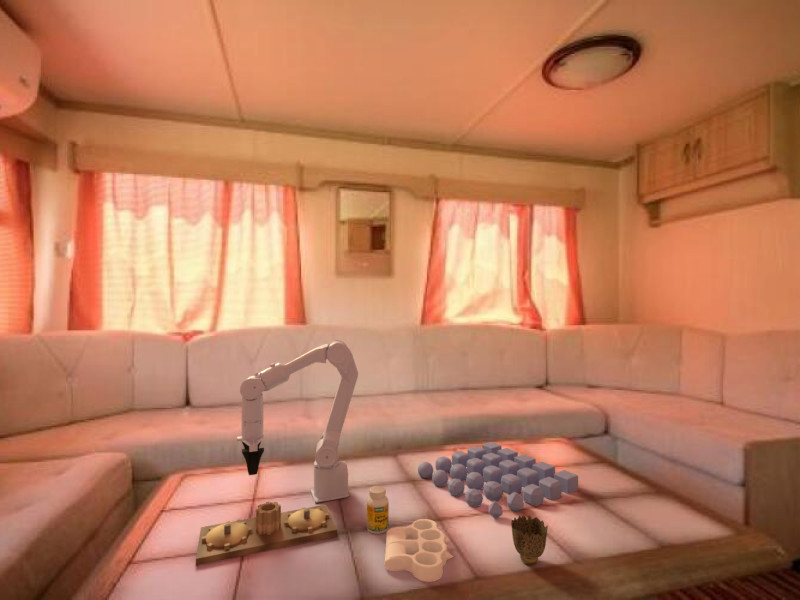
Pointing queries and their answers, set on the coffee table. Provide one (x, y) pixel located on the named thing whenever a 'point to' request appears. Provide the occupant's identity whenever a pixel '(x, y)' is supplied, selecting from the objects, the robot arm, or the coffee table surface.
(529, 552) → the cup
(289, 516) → the gear board
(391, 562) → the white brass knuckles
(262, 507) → the maple gear
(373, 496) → the supplement bottle
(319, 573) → the coffee table surface
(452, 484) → the blocks
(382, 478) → the coffee table surface
